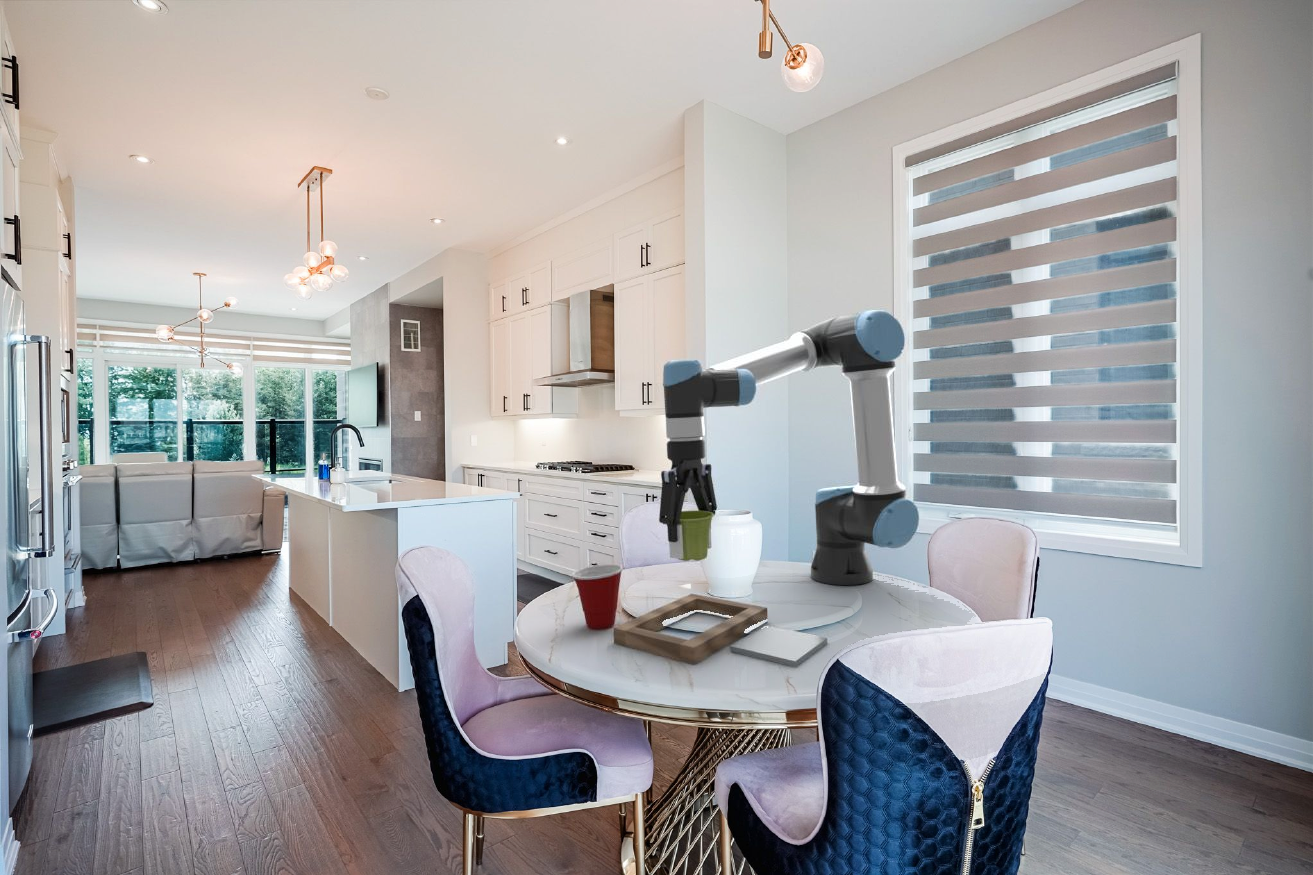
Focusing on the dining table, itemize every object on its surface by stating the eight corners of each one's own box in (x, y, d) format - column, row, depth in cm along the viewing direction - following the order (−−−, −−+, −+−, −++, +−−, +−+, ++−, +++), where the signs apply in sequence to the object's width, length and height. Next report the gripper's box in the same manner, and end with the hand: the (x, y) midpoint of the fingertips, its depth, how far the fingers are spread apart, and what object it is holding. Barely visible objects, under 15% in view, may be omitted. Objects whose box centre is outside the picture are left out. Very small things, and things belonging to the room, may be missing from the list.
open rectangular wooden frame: (692, 606, 145) (691, 593, 144) (767, 621, 133) (767, 607, 133) (613, 643, 124) (613, 627, 124) (694, 664, 112) (693, 647, 112)
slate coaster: (765, 630, 128) (765, 625, 128) (827, 643, 120) (827, 637, 120) (730, 651, 118) (730, 645, 118) (795, 666, 110) (795, 661, 110)
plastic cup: (583, 616, 141) (581, 561, 141) (631, 617, 139) (628, 562, 139) (566, 633, 131) (563, 574, 130) (617, 635, 129) (614, 575, 128)
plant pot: (725, 555, 128) (723, 512, 128) (694, 566, 121) (691, 520, 121) (690, 550, 135) (688, 508, 134) (658, 559, 128) (656, 516, 128)
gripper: (701, 435, 137) (706, 539, 139) (635, 443, 121) (641, 562, 122) (731, 435, 133) (736, 543, 134) (666, 443, 116) (673, 567, 117)
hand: (691, 552), depth 128 cm, fingers closed on plant pot, 9 cm apart
